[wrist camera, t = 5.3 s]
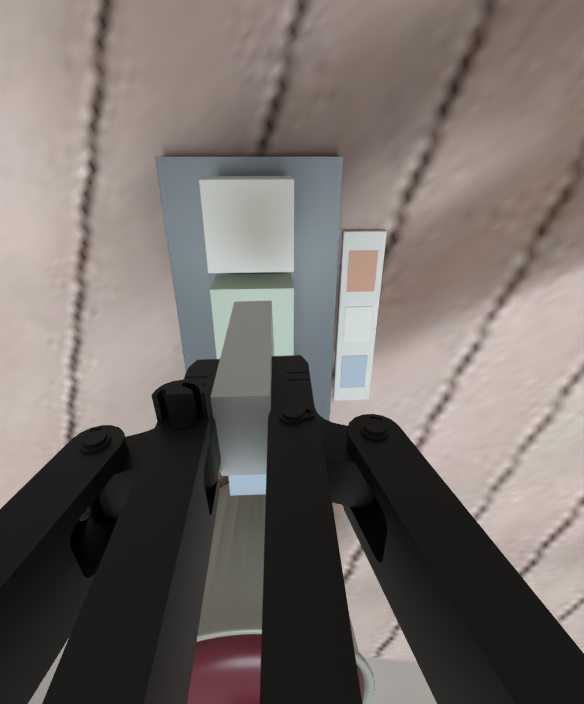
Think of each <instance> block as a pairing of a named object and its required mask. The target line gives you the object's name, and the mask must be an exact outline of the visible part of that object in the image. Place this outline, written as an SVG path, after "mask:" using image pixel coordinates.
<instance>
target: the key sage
mask: <svg viewBox="0 0 584 704" xmlns="http://www.w3.org/2000/svg"><path fill="white" fill-rule="evenodd" d="M210 296H211V306H212V316H213V326H214V336H215V346H216V356H217V359H220V357H221V353H222V349H223V345H224V341H225V337H226V333H227V329H228V325H229V321H230V317H231V313H232V309H233V304H234V302H238V301H272V317H273V340H274V356H291V355H294V287H293V281H292V275H291V274H217V275H216V277H215V279H214V281H213V284H212V286H211V288H210Z"/></svg>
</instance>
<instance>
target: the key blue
mask: <svg viewBox="0 0 584 704" xmlns="http://www.w3.org/2000/svg"><path fill="white" fill-rule="evenodd" d="M228 478H229V488H230V496H234V495H259V494H266V474H257V475H232V476H228Z"/></svg>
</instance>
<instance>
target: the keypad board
mask: <svg viewBox="0 0 584 704" xmlns="http://www.w3.org/2000/svg"><path fill="white" fill-rule="evenodd" d="M155 158H156V165H157V172H158V179H159V186H160V193H161V200H162V207H163V214H164V221H165V228H166V235H167V242H168V249H169V256H170V263H171V270H172V277H173V284H174V291H175V298H176V305H177V312H178V319H179V326H180V333H181V340H182V347H183V354H184V361H185V368H186V372H187V369H188V367H190V366H191V365H192V364H193V363H194V362H195V361H196V360H203V359H217V356H216V346H215V336H214V326H213V316H212V306H211V296H210V288H211V286H212V284H213V281H214V279H215V277H216V275H217V274H291V275H292V281H293V287H294V355H301V356H302V357H303V358H304V359H305V360H306V361H307V362H308V365H309V373H310V378H311V385H312V392H313V399H314V406H315V409H316V411H317V413H318V414H319V415H320V416H321V417H322V418H324V419H325V420H328V421H329V412H330V393H331V375H332V357H333V339H334V320H335V302H336V284H337V265H338V247H339V229H340V210H341V192H342V174H343V157H340V156H160V157H155ZM207 176H292V177H293V179H294V272H260V273H208V266H207V256H206V245H205V235H204V225H203V215H202V205H201V195H200V185H199V179H202V178H204V177H207Z"/></svg>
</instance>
